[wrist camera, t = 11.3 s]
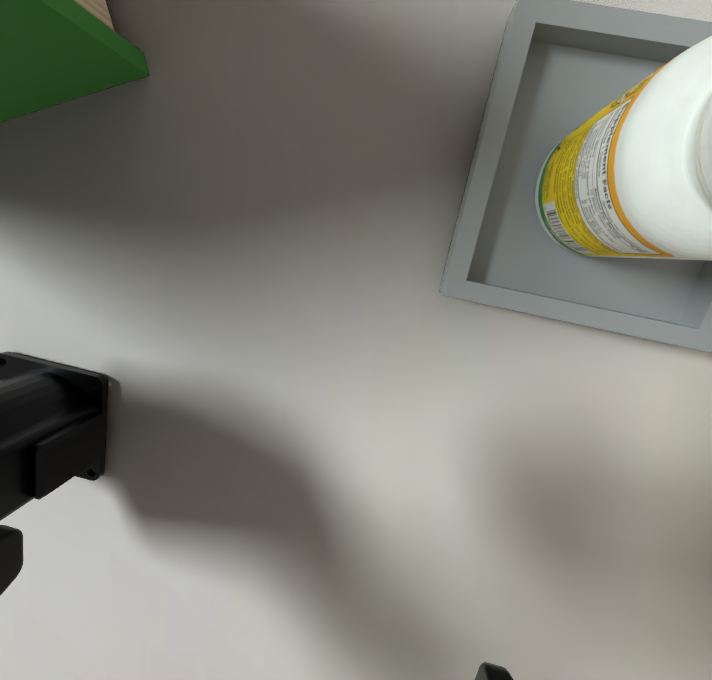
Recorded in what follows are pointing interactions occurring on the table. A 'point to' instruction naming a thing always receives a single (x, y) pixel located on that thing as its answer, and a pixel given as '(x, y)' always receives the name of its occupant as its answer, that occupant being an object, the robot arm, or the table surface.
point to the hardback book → (60, 54)
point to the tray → (526, 157)
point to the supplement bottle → (638, 170)
